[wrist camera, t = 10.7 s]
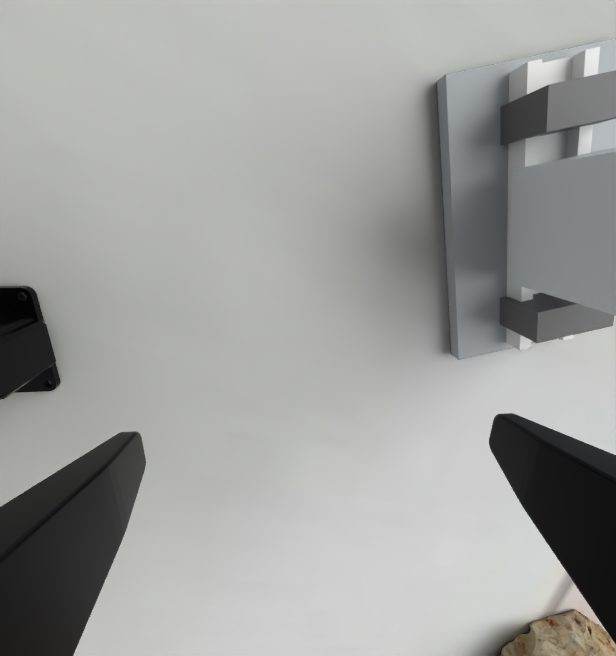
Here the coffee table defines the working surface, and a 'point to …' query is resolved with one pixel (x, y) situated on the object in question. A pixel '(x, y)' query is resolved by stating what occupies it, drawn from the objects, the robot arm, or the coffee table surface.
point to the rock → (562, 638)
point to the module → (566, 229)
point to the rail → (495, 185)
